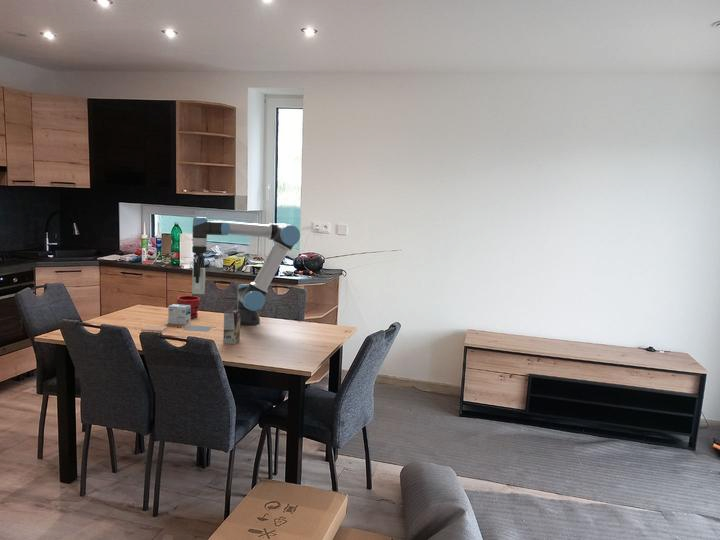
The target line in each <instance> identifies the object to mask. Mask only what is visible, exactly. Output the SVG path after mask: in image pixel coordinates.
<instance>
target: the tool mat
mask: <svg viewBox="0 0 720 540" xmlns="http://www.w3.org/2000/svg"><path fill="white" fill-rule="evenodd" d="M213 328H214V326H207V325H192V324H191V325H190V324H189V325H187V326H186V327H184V328H183V329H182V331H187V332H192V331H193V332H205V333H207V332H209V331H210V330H212V329H213Z"/></svg>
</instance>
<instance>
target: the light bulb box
mask: <svg viewBox="0 0 720 540" xmlns="http://www.w3.org/2000/svg"><path fill="white" fill-rule="evenodd" d="M190 310H191V305H182V304H181V305H178V304H177V303H176V304H175V303H173V304H171V305H168V313H167V315H168V320H167V322H168V324H173V325H174V324H175V325H183V326H185V325H188V324H190V323H191V318H190Z"/></svg>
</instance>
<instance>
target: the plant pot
mask: <svg viewBox="0 0 720 540" xmlns="http://www.w3.org/2000/svg"><path fill="white" fill-rule="evenodd" d="M200 300H201V299H200V297H199V296H196V295H195V296H194V295H181V296H178V297H177V299H176V302H177V303H176V304H178V305H191V310H190V319H194V318H196V317H198V316H199V313H198V311H199V308H200V303H201V301H200Z"/></svg>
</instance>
